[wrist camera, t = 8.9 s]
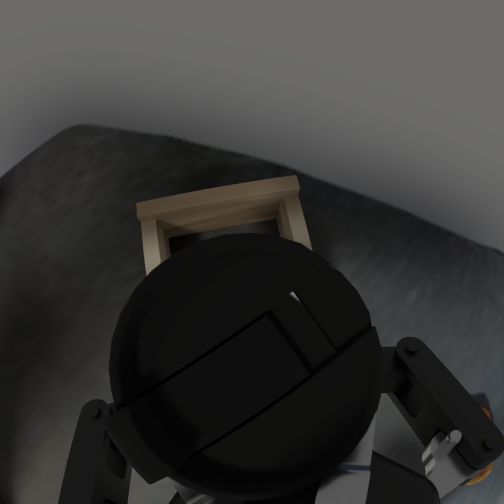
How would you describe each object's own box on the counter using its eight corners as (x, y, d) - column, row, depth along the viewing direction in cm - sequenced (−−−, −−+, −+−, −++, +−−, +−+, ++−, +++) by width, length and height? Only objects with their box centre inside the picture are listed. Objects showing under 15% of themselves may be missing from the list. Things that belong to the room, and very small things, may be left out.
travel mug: (185, 337, 25) (41, 331, 6) (252, 292, 26) (289, 165, 7) (230, 400, 24) (208, 555, 5) (297, 354, 25) (449, 388, 6)
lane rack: (321, 365, 27) (343, 372, 21) (181, 392, 25) (166, 407, 20) (285, 204, 30) (296, 174, 24) (154, 228, 29) (136, 203, 23)
